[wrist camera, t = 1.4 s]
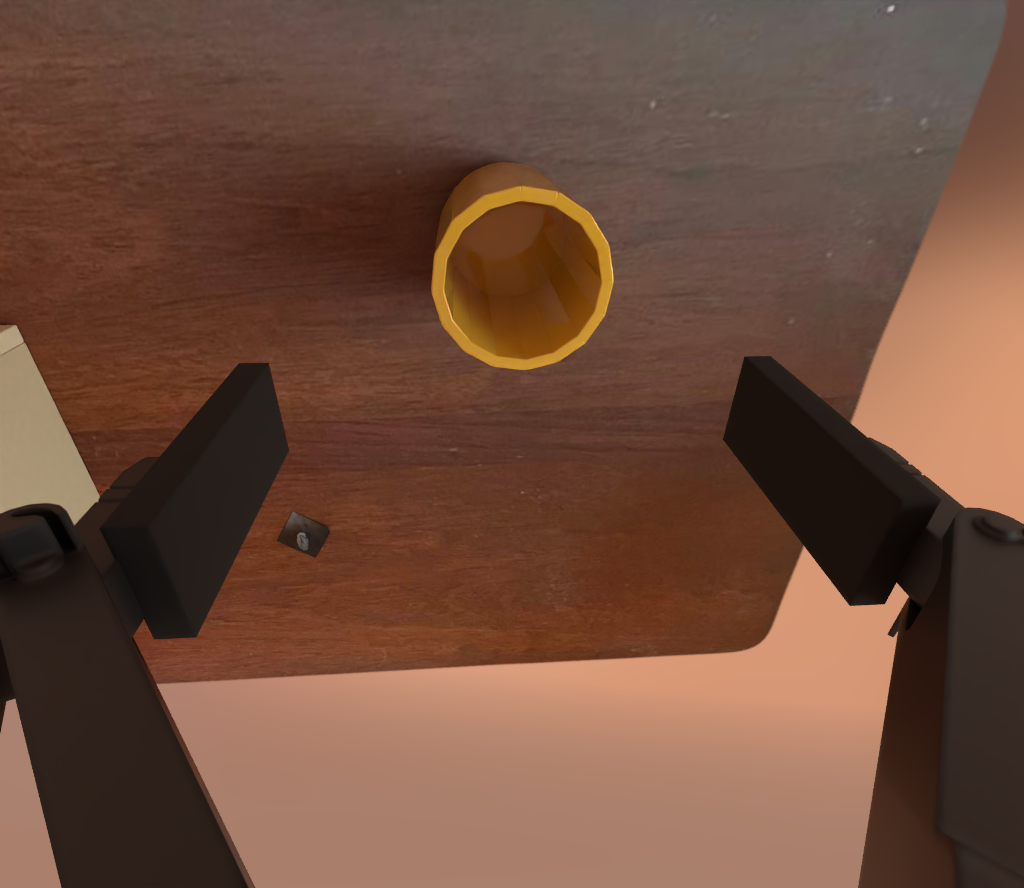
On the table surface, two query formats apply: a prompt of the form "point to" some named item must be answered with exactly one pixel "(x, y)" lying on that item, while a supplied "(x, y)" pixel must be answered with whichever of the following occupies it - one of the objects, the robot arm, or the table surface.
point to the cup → (519, 268)
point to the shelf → (36, 439)
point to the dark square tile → (304, 534)
